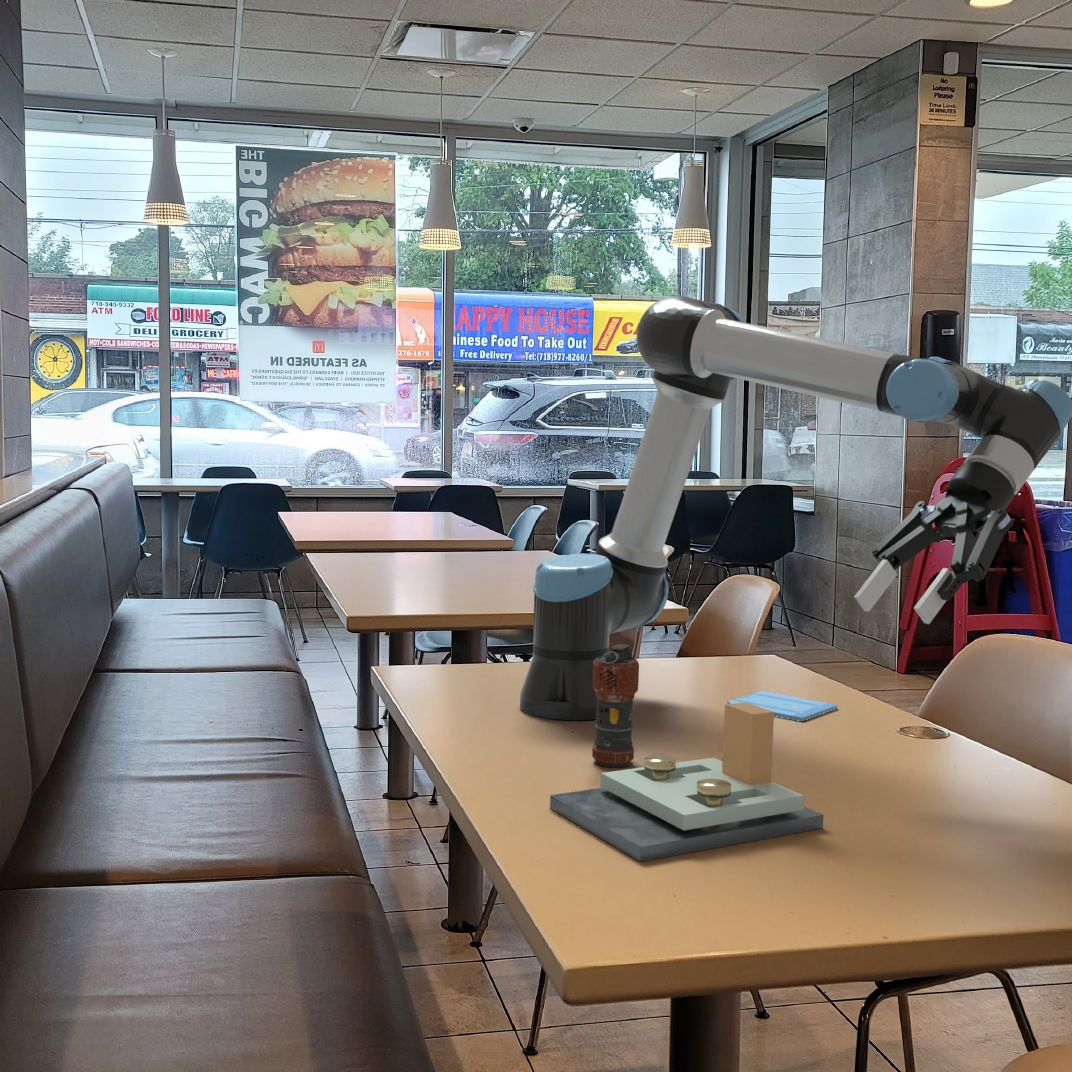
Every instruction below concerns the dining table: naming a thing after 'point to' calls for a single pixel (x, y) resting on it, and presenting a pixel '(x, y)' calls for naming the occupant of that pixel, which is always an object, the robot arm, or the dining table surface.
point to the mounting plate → (658, 837)
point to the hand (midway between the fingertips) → (890, 610)
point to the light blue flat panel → (786, 705)
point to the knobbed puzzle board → (740, 767)
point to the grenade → (614, 706)
